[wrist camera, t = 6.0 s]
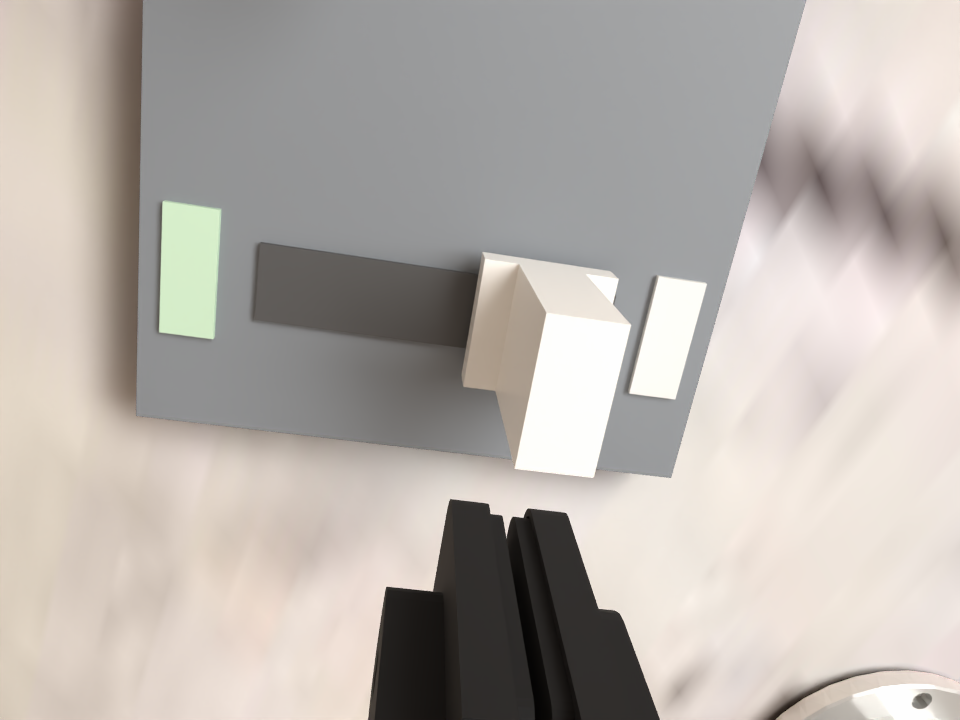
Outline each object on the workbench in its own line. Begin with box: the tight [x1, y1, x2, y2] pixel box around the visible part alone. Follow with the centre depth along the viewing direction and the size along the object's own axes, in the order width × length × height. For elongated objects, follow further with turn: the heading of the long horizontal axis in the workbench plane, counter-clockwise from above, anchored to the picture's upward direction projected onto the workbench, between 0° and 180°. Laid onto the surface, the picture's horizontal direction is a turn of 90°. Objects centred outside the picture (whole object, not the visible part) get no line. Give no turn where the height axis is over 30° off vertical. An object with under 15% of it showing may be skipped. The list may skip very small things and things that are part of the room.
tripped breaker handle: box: [462, 252, 631, 478], centre depth 20 cm, size 4×4×6 cm
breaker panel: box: [136, 0, 806, 478], centre depth 22 cm, size 24×18×2 cm
